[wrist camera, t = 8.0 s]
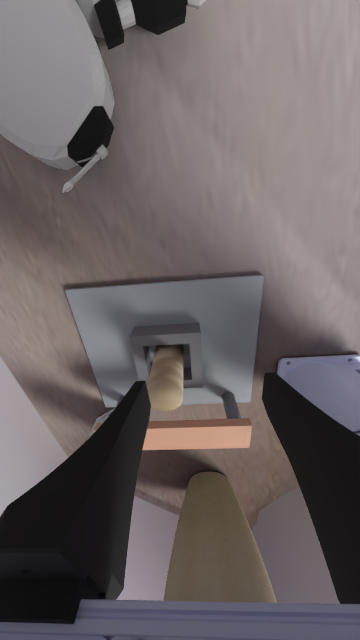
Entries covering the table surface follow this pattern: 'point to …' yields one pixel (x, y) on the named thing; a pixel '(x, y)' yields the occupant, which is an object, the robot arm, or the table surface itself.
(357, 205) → the table surface
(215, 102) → the table surface
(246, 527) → the plant pot
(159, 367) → the peg
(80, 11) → the robot toy
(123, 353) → the socket station
